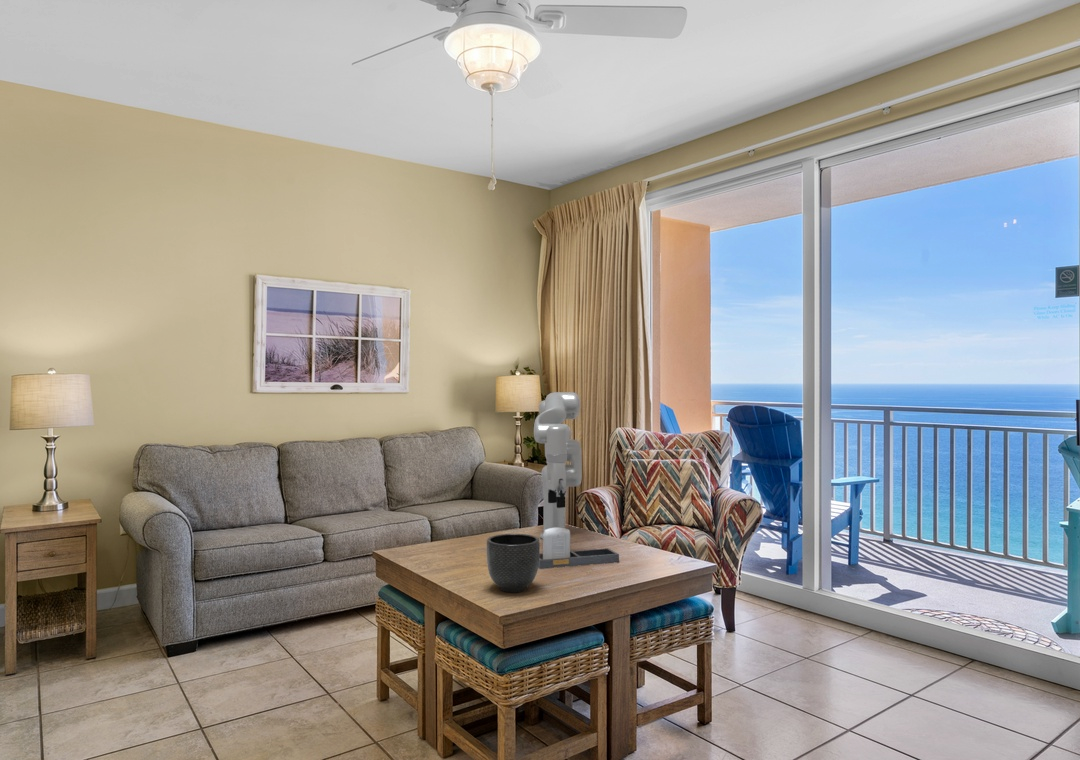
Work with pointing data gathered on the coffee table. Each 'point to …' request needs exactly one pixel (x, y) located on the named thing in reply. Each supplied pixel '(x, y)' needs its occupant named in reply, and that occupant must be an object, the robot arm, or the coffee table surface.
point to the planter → (513, 560)
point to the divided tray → (580, 558)
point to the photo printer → (556, 543)
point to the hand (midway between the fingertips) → (556, 505)
